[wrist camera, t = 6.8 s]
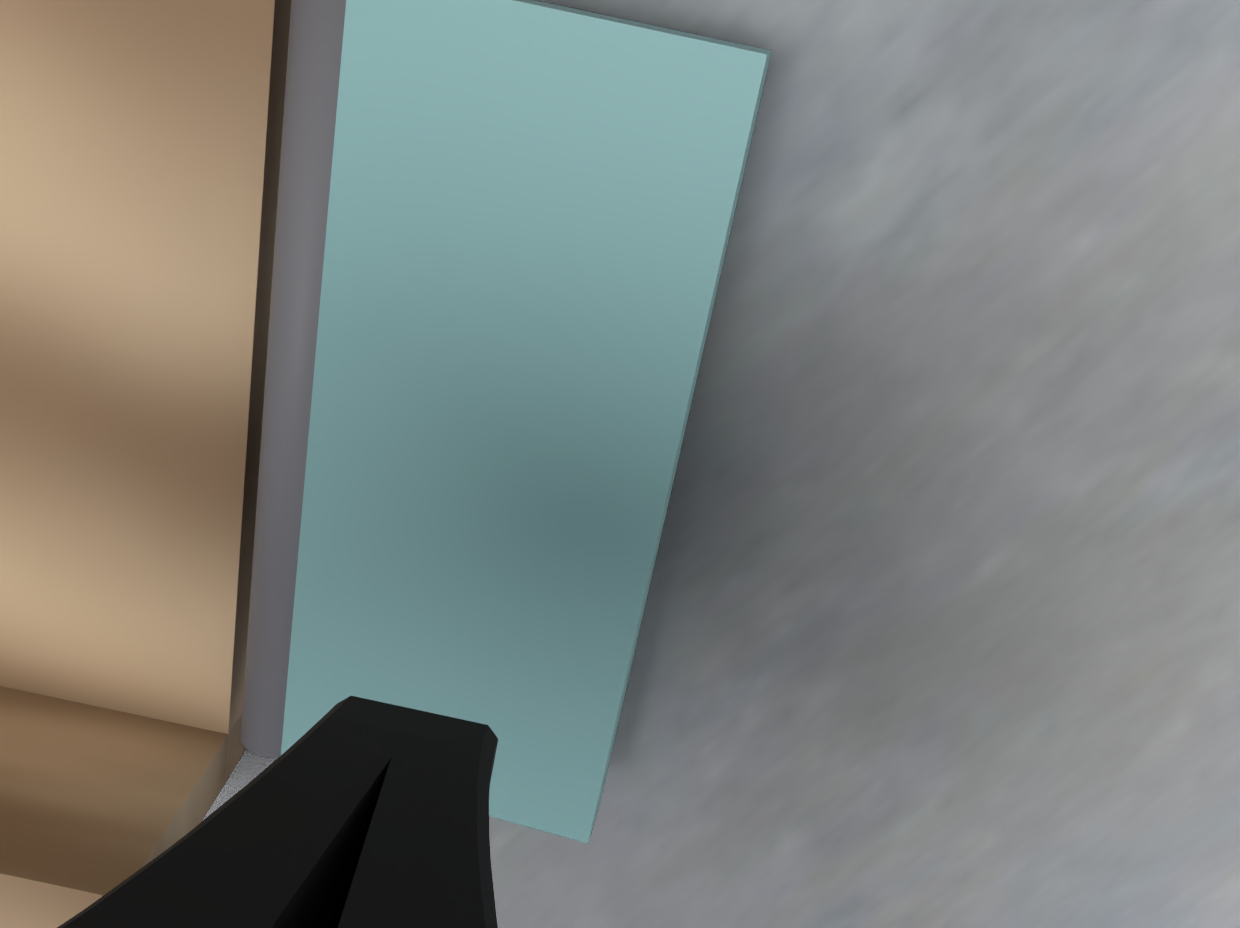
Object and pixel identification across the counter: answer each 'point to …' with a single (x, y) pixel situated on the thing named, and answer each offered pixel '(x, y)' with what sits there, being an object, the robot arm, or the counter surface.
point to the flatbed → (128, 423)
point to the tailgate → (483, 368)
